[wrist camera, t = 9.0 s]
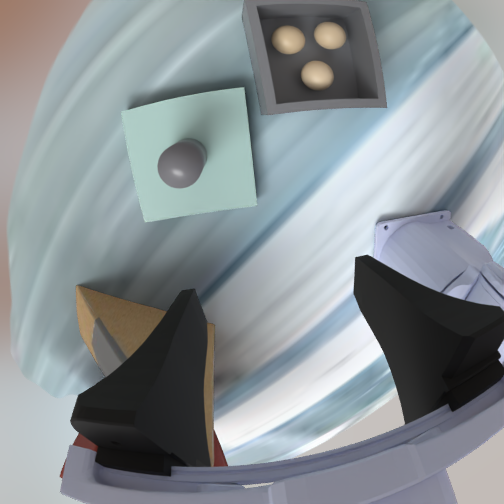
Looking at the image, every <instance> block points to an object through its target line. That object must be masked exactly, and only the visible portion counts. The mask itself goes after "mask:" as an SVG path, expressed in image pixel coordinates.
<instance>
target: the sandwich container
mask: <svg viewBox="0 0 504 504" xmlns="http://www.w3.org/2000/svg"><path fill="white" fill-rule="evenodd" d="M76 305H77V316H78V323H79V329H80V334H81V336H82V338H83V340H84V342H85V343H86V345H87V347H88V349H89V350H90V352H91V354H92V356H93V357H94V359H95V361H96V362H97V364H98V366H99V367H100V369H101V371H102V372H103V374H104V375H105V377H107V376H108V375H109V374H111V373H112V372H113V371H114V370H116V369H117V368H118V367H119V366H120V365H121V364H122V363H124V362H125V361H126V360H127V359H128V358H129V357H130V356H131V355H132V354H133V353H134V352H135V351H136V350H137V349H138V348H139V347H140V346H141V345H142V344H143V342H144V341H145V340H146V339H147V338H148V337H149V335H150V334H151V333H152V331H153V330H154V329H155V327H156V326H157V325H158V324H159V322H160V321H161V320H162V318H163V317H164V315H165V314H166V312H167V311H164V310H160V309H157V308H153V307H149V306H145V305H142V304H138V303H134V302H131V301H127V300H124V299H120V298H117V297H113V296H110V295H107V294H104V293H100V292H97V291H94V290H91V289H88V288H85V287H82V286H79V285H76ZM207 331H208V345H207V356H206V367H205V378H204V408H205V422H206V433H207V442H208V449H209V456H210V462H211V467H213V465H214V339H215V325H214V324H211V323H207Z"/></svg>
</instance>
